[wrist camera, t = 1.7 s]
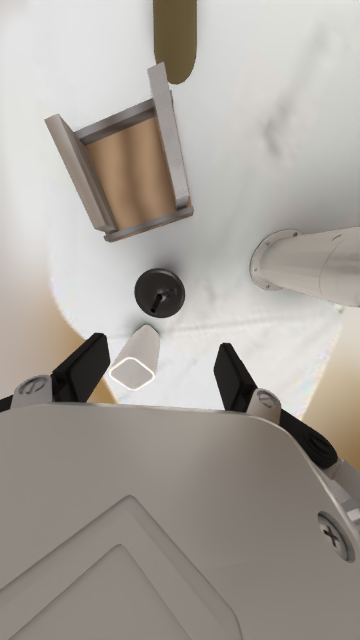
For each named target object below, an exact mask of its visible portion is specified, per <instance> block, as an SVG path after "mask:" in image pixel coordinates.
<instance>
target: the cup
mask: <svg viewBox="0 0 360 640" xmlns="http://www.w3.org/2000/svg"><path fill="white" fill-rule="evenodd" d="M159 349H160V337H159V334H158V333H157V332H156V331H155V330H154V329H153V328H152V327H151V326H149V325H144V326H142V327H141V328H140V329H139V330H137V331H136V332H135V333H134V334H133V336H132V337H131V338H130V339H129V340H128V342H127V343H126V344H125V346H124V347H123V349H122V350H121V352H120V353H119V355H118V356H117V358H116V359H115V361H114V363H113V364H112V366H111V368H110V370H109V372H108V374H109V376H110V377H111V378H112V379H113V380H115V381H116V382H118V383H119V384H121V385H122V386H124V387H125V388H127V389H129V390H132V391H134V390H138V389H140V388H142V387H143V386H145V385H146V384H148V383H150V382H151V381H153V380H154V379H155V375H156V370H157V364H158V358H159Z"/></svg>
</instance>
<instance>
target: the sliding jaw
mask: <svg viewBox="0 0 360 640" xmlns="http://www.w3.org/2000/svg"><path fill="white" fill-rule="evenodd" d="M147 71H148V77H149V83H150V89H151V95H152V102H153V108H154V114H155V120H156V124H157V128H158V133H159V137H160V141H161V146H162V150H163V154H164V159H165V163H166V167H167V172H168V176H169V180H170V185H171V189H172V194H173V198H174V202H175V207H176V211H179V210H182V209H185V208H187V203H188V198H189V192H188V186H187V181H186V176H185V170H184V165H183V160H182V155H181V149H180V144H179V139H178V133H177V128H176V123H175V118H174V112H173V107H172V102H171V96H170V91H169V86H168V81H167V75H166V70H165V65H164V62H162V63H159V64H157V65H155V66H153V67H151V68H149V69H147Z"/></svg>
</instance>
